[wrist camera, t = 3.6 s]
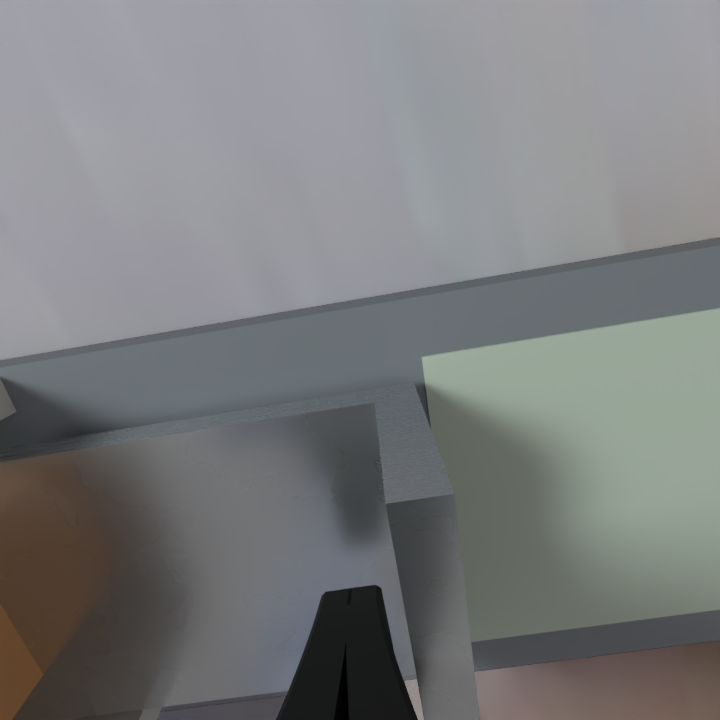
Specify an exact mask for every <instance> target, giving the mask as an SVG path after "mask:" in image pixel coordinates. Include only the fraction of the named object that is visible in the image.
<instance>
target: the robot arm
mask: <svg viewBox="0 0 720 720" xmlns="http://www.w3.org/2000/svg"><path fill="white" fill-rule="evenodd" d="M276 720H418V719H417V716H416V713H415V711H414V708H413V706H412V703H411V700H410V698H409V695H408V692H407V689H406V686H405V683H404V680H403V677H402V674H401V672H400V669H399V666H398V663H397V660H396V656H395V653H394V649H393V643H392V638H391V633H390V628H389V624H388V619H387V614H386V609H385V604H384V599H383V594H382V589H381V588H380V587H379V586H377V585H370V586H362V587H355V588H348V589H341V590H334V591H327V592H325V593H324V594H323V595H322V596H321V599H320V603H319V607H318V610H317V613H316V616H315V619H314V623H313V626H312V629H311V632H310V635H309V637H308V640H307V643H306V646H305V649H304V651H303V654H302V657H301V660H300V662H299V665H298V667H297V670H296V672H295V675H294V677H293V680H292V682H291V685H290V688H289V690H288V693H287V695H286V698H285V700H284V703H283V705H282V707H281V710H280V712H279V714H278V717H277V719H276Z"/></svg>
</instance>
